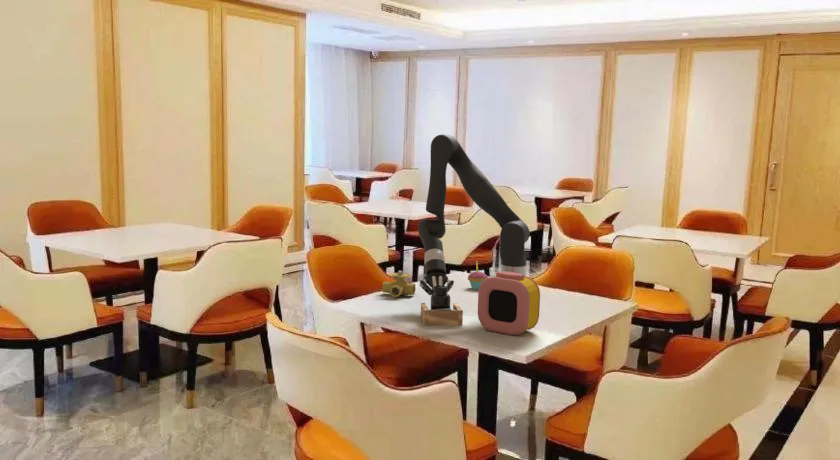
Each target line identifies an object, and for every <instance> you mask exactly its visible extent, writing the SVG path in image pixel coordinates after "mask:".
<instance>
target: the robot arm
mask: <svg viewBox="0 0 840 460" xmlns="http://www.w3.org/2000/svg"><path fill="white" fill-rule="evenodd" d="M448 165H449V166H451V168H452V169H453V170H454V172H456V175H457V177H458V178H459V180H460V183H461V185H462V187H463V189H464V190H465V192H466V194H467V195H468V196H469V198H470V199H471V200H472V201H473V202H474V203H475V205H477V206H478V207H479V208H480V209H481V210H482V211H484V212H485V213H486V214H487V215H489V216H490V217H491V218H492V219H493V220H495V221H496V223H497V224H498V225H499V227H500V228H501V230H500V234H499V256H500V271H505V272H514V273H520V274H524V276H526V277H527V273H526V272H527V257H526V255H525V244H526V243H527V242H528V240H529V239H530V233H531V232H530V228H529V227H528V225H527V223H525V221H524V220H523V219H521V218H520V216H519V215H517V214H516V213H515V211H514V210H512V208H511V207H509V205H508V204H507V202H506V201H505V200H504V198H503V197H502V196H501V194H500V193H499V191H498V190H497V189H496V187H494V185H493V184H492V183H491V181H490V180H489V179H488V178H487V177H486V176H485V175H484V173H483V172H482V170H480V169H479V167H478V166H477V165H476V164H475V163H474V162H473V161H472V160H471V159H470V157H469V156H468V154H467V153H466V151H465V150H464V148H463V147H462V145H461V144H460V142H459V140H458V139H457V138H455V136H453V135H451V134H438V135H436V136H435V137H434V138H433V139H432V140H431V143H430V173H429V185H428V191H427V198H426V204H425V211H426V212H427V213H429V214H432V215H435V217H436V219H430V218H423V219H420V221H418V224H417V232H418V236H419V238H420V240H421V242H422V245H423V250H424V251H423V252H424V259H423V260H424V268H425V270H424V271H425V276H424V279H421V280H420V281H419V287H420V288H421V289H422V290H423V291H425V293H426V294H427V295H428V296H432V294H434V286H438V285H442V286H447V287H448V292H447V294H449V292H450V291H451V289H452V288H453V286H454V284H455V281H454V280H453V279H452V280H451V279H449V277H448V275H447V271H446V269H447V268H446V259H445V255H444V245H443V242H442V238H443V237H444V236H445V235H446V230H447V229H446V221H445V205H446V199H447V167H448Z"/></svg>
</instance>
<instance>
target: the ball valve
mask: <svg viewBox="0 0 840 460" xmlns="http://www.w3.org/2000/svg"><path fill="white" fill-rule="evenodd" d="M403 272H404V271H403V270H398V272H394V273H392V274H391V275H390V274H389V275H390V276H389V277H390V278H396V280H394V281H383V283H382V288H381V290H382V293H385V294H390V295H391V296H392V297H394V298H395V297H396V298H399V296H405V297H408V296H415V294H416V284H415V283H410V281H405V279H408V278H409V277H410V276H411V274H410V273H403Z"/></svg>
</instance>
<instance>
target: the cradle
mask: <svg viewBox="0 0 840 460" xmlns="http://www.w3.org/2000/svg"><path fill="white" fill-rule="evenodd" d="M463 317H464V310H463V309H462V307H461V306H460V305H459V304H458V303H457V302H453V305H452V308H450V309H436V310H431V309H429V308H428V306H427V304H426V303H425V302H424V303H423V302H420V319H421V322H422V324H423V325H424V326H463V323H464V322H463V319H464V318H463Z"/></svg>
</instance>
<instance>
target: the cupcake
mask: <svg viewBox="0 0 840 460" xmlns="http://www.w3.org/2000/svg"><path fill="white" fill-rule="evenodd" d="M475 265H476V267H475V268H476V269H475V270H476V271H473V272H470V273H469V274H467V275H468V276H467V280H468V281H469V284H470V286H471V289H472V290H479V287H480V285H481V283H482V282H483V280H485V279H487V278H488V277H489V276H488V275H487V274H486V273H485V272H481V271H479V266H478V265H479V262H478V261H476V263H475Z"/></svg>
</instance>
